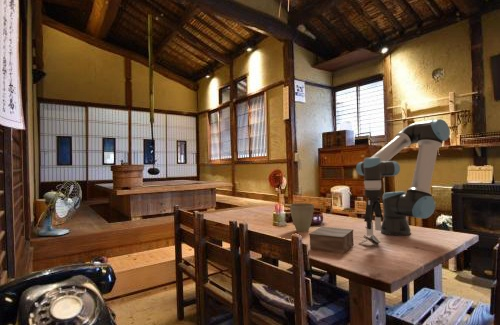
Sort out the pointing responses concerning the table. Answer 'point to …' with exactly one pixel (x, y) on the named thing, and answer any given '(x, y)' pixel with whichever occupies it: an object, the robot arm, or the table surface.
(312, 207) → the plant pot
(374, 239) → the origami crane
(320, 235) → the walnut box
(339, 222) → the table surface
